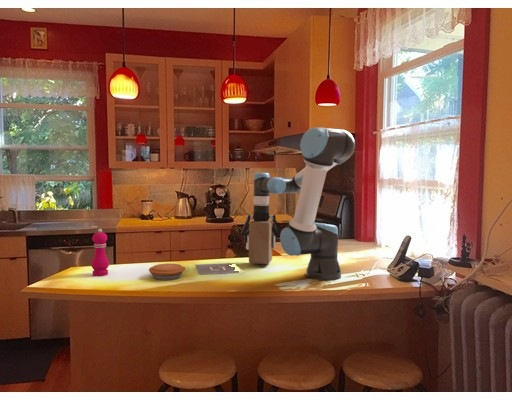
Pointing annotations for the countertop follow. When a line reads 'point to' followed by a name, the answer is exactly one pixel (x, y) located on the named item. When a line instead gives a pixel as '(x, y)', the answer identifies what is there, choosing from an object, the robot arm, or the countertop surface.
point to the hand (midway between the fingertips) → (260, 248)
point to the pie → (167, 271)
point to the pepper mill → (100, 254)
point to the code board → (215, 268)
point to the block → (260, 242)
